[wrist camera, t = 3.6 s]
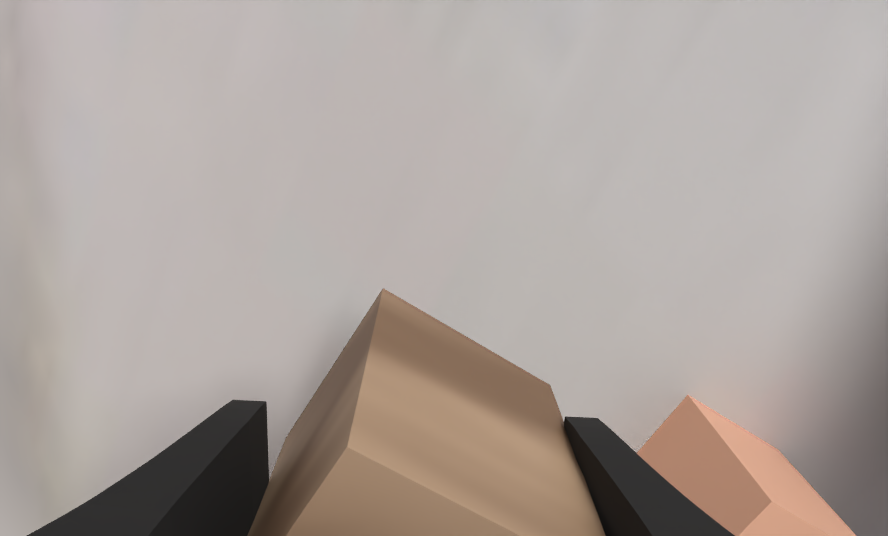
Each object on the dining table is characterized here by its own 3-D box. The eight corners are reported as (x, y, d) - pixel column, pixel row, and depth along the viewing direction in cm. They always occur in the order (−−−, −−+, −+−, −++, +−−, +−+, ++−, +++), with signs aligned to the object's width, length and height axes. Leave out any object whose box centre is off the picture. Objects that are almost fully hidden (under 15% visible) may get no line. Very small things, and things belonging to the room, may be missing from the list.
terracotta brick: (687, 394, 19) (771, 501, 14) (778, 449, 20) (886, 568, 15) (611, 480, 20) (666, 608, 15) (700, 529, 21) (779, 666, 16)
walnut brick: (382, 288, 11) (347, 446, 7) (550, 385, 12) (625, 590, 7) (285, 437, 12) (194, 668, 8) (444, 518, 13) (452, 772, 8)
